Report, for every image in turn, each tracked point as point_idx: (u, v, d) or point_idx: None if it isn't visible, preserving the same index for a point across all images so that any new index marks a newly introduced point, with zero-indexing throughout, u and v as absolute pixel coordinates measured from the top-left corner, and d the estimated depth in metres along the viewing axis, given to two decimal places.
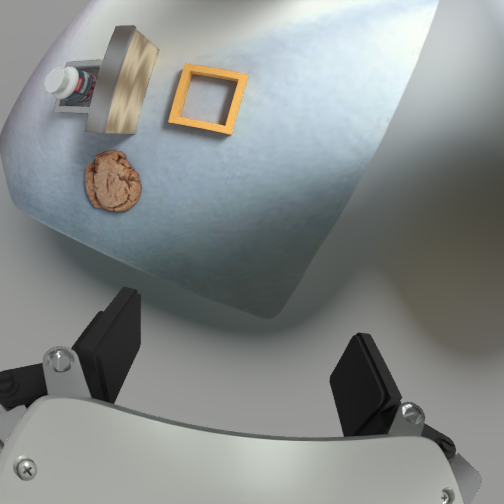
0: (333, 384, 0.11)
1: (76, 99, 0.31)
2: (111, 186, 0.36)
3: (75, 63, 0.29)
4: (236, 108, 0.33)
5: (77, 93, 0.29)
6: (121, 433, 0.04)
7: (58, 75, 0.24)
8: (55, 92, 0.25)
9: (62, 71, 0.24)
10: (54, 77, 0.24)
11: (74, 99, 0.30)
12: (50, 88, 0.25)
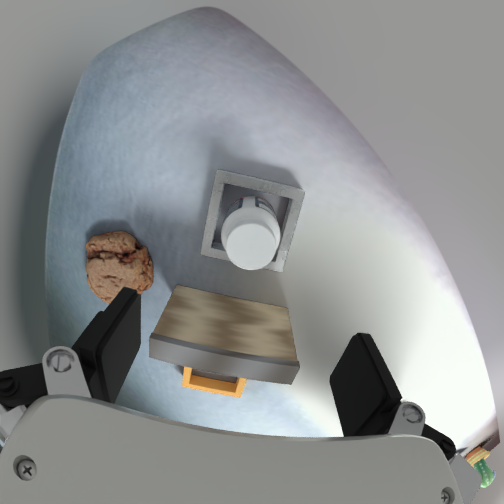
0: (333, 384, 0.11)
1: None
2: (109, 282, 0.30)
3: (295, 212, 0.28)
4: (206, 390, 0.37)
5: None
6: (121, 433, 0.04)
7: (256, 258, 0.22)
8: None
9: (262, 266, 0.22)
10: (255, 249, 0.22)
11: None
12: (235, 243, 0.22)
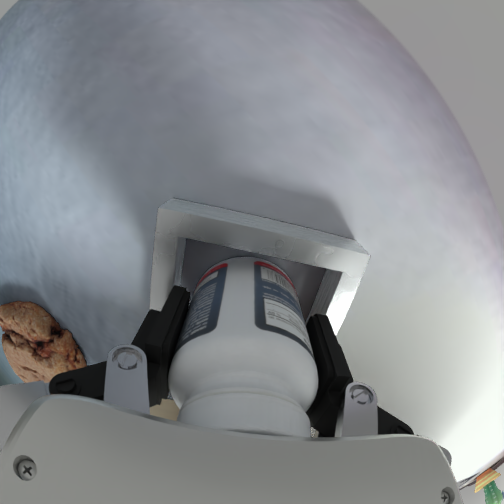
0: None
1: None
2: (31, 376, 0.14)
3: (344, 298, 0.12)
4: None
5: None
6: (121, 433, 0.04)
7: None
8: None
9: None
10: None
11: None
12: None
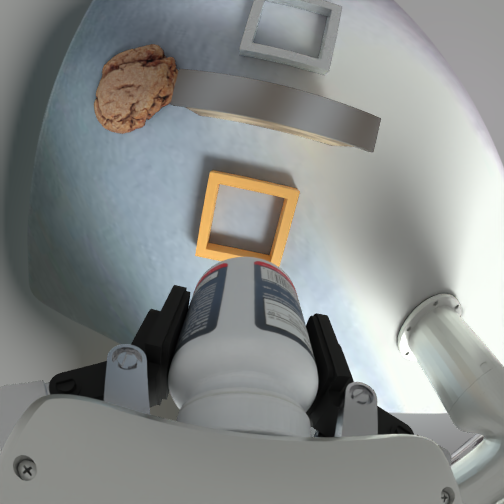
0: None
1: None
2: (123, 93, 0.22)
3: (335, 19, 0.19)
4: None
5: None
6: (121, 433, 0.04)
7: None
8: None
9: None
10: None
11: None
12: None
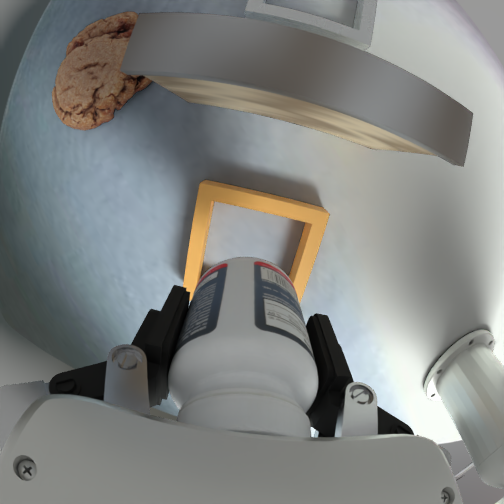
0: None
1: None
2: (84, 75, 0.14)
3: None
4: None
5: None
6: (121, 433, 0.04)
7: None
8: None
9: None
10: None
11: None
12: None
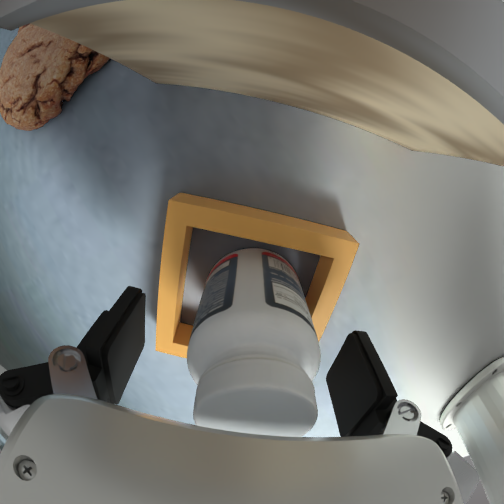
0: (330, 382, 0.11)
1: None
2: (26, 60, 0.08)
3: None
4: None
5: None
6: (121, 433, 0.04)
7: None
8: None
9: None
10: (267, 425, 0.07)
11: None
12: (216, 417, 0.07)
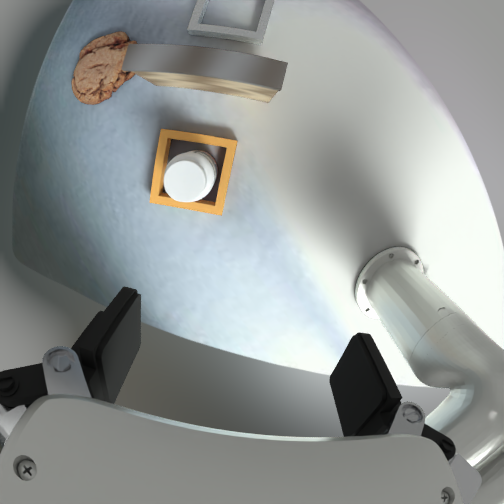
0: (333, 384, 0.11)
1: None
2: (94, 71, 0.24)
3: None
4: (178, 206, 0.32)
5: None
6: (121, 433, 0.04)
7: (189, 191, 0.25)
8: None
9: (194, 198, 0.25)
10: (187, 182, 0.24)
11: None
12: (171, 178, 0.24)
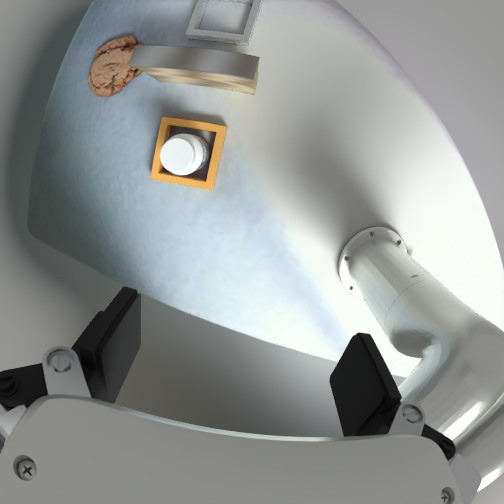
0: (333, 384, 0.11)
1: None
2: (107, 68, 0.29)
3: (256, 5, 0.26)
4: (175, 182, 0.36)
5: None
6: (121, 433, 0.04)
7: (180, 163, 0.29)
8: None
9: (184, 168, 0.29)
10: (179, 156, 0.29)
11: None
12: (166, 152, 0.28)
